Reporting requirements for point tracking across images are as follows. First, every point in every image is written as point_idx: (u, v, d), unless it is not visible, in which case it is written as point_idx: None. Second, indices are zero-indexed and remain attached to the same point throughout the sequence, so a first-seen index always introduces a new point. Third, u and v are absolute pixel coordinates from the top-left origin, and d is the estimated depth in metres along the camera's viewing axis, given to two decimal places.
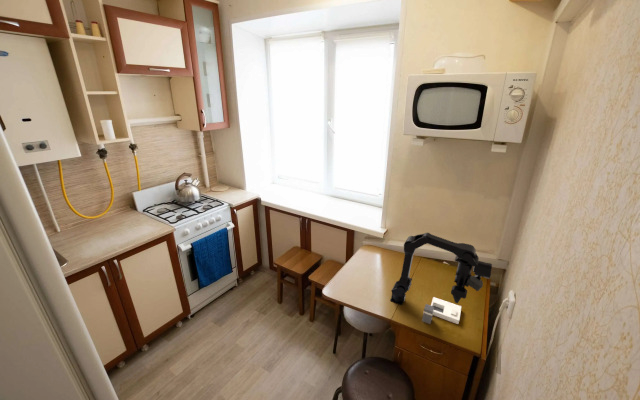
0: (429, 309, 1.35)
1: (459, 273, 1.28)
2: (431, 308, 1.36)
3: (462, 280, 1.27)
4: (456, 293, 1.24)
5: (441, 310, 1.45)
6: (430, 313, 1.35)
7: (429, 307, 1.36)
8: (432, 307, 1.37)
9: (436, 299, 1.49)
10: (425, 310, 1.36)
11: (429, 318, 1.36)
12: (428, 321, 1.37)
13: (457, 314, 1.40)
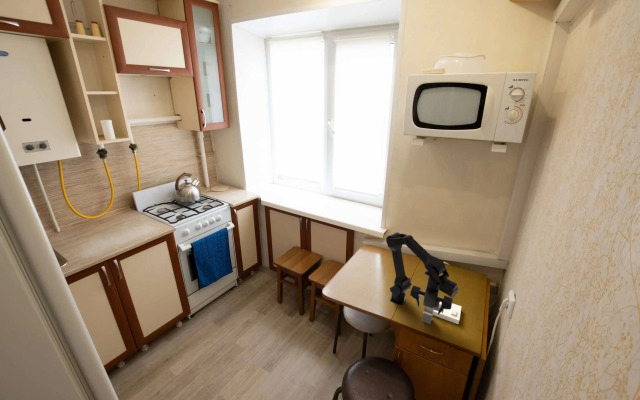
0: (429, 309, 1.35)
1: None
2: (431, 308, 1.36)
3: None
4: (412, 288, 1.39)
5: None
6: (430, 313, 1.35)
7: (429, 307, 1.36)
8: None
9: None
10: (425, 310, 1.36)
11: (429, 318, 1.36)
12: (428, 321, 1.37)
13: (457, 314, 1.40)
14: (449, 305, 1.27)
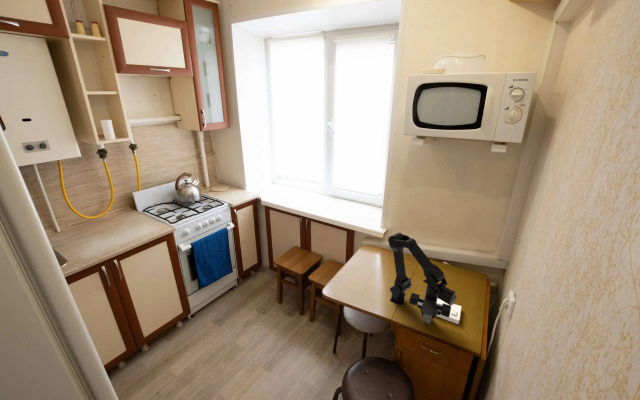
0: None
1: None
2: None
3: None
4: (411, 296, 1.40)
5: None
6: None
7: None
8: None
9: None
10: None
11: (429, 318, 1.36)
12: (428, 321, 1.37)
13: (457, 314, 1.40)
14: (447, 313, 1.29)
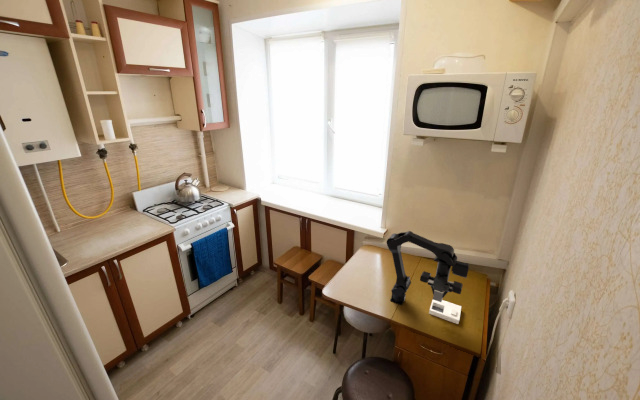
0: None
1: None
2: None
3: None
4: None
5: (441, 310, 1.45)
6: None
7: None
8: None
9: None
10: None
11: (440, 296, 1.36)
12: (439, 299, 1.37)
13: (457, 314, 1.40)
14: (459, 289, 1.29)
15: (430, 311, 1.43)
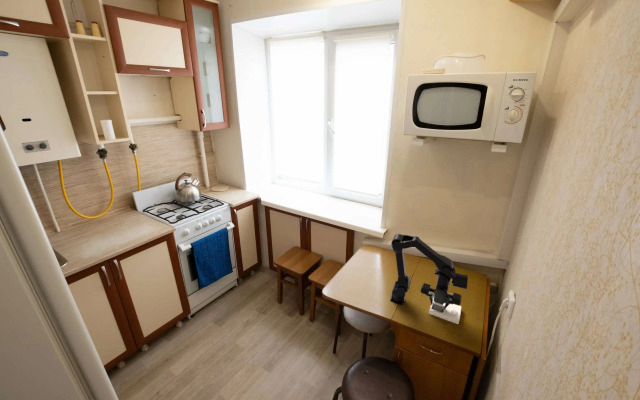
0: None
1: None
2: None
3: None
4: (422, 285, 1.45)
5: None
6: (441, 304, 1.40)
7: None
8: None
9: None
10: None
11: (440, 309, 1.42)
12: None
13: (457, 314, 1.40)
14: (458, 301, 1.34)
15: (430, 311, 1.43)
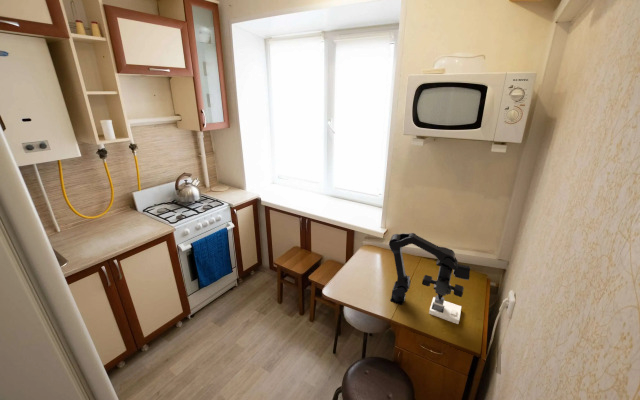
0: (440, 300, 1.41)
1: None
2: (441, 299, 1.41)
3: (437, 278, 1.38)
4: None
5: None
6: (441, 304, 1.40)
7: (440, 299, 1.42)
8: (442, 298, 1.42)
9: None
10: (436, 301, 1.41)
11: (439, 309, 1.42)
12: None
13: (457, 314, 1.40)
14: (460, 293, 1.32)
15: (430, 311, 1.43)
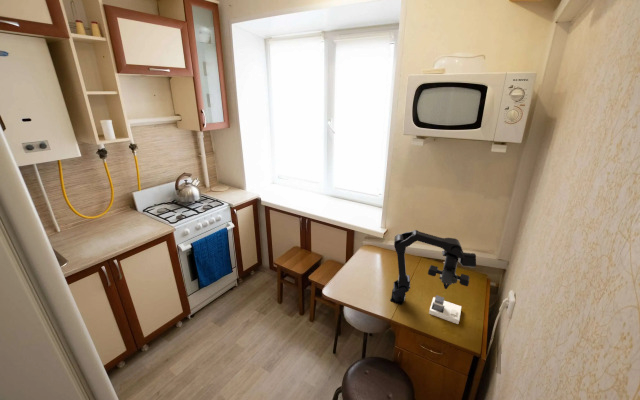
0: (440, 300, 1.41)
1: None
2: (441, 299, 1.41)
3: (443, 268, 1.39)
4: (429, 268, 1.44)
5: None
6: (441, 304, 1.40)
7: (440, 299, 1.42)
8: (442, 298, 1.42)
9: None
10: (436, 301, 1.41)
11: (439, 309, 1.42)
12: None
13: (457, 314, 1.40)
14: (466, 282, 1.33)
15: (430, 311, 1.43)
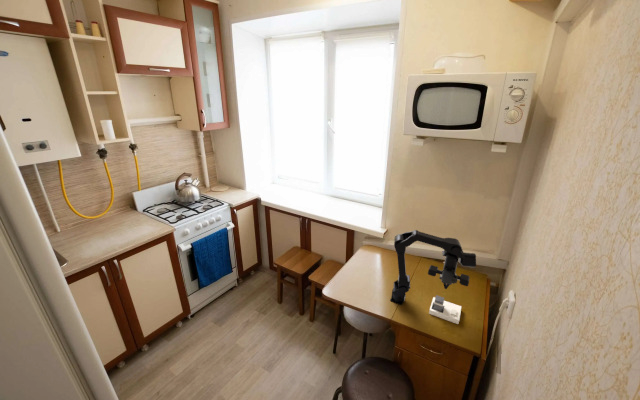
0: (440, 300, 1.41)
1: None
2: (441, 299, 1.41)
3: (443, 268, 1.39)
4: (429, 268, 1.44)
5: None
6: (441, 304, 1.40)
7: (440, 299, 1.42)
8: (442, 298, 1.42)
9: None
10: (436, 301, 1.41)
11: (439, 309, 1.42)
12: None
13: (457, 314, 1.40)
14: (466, 282, 1.33)
15: (430, 311, 1.43)
